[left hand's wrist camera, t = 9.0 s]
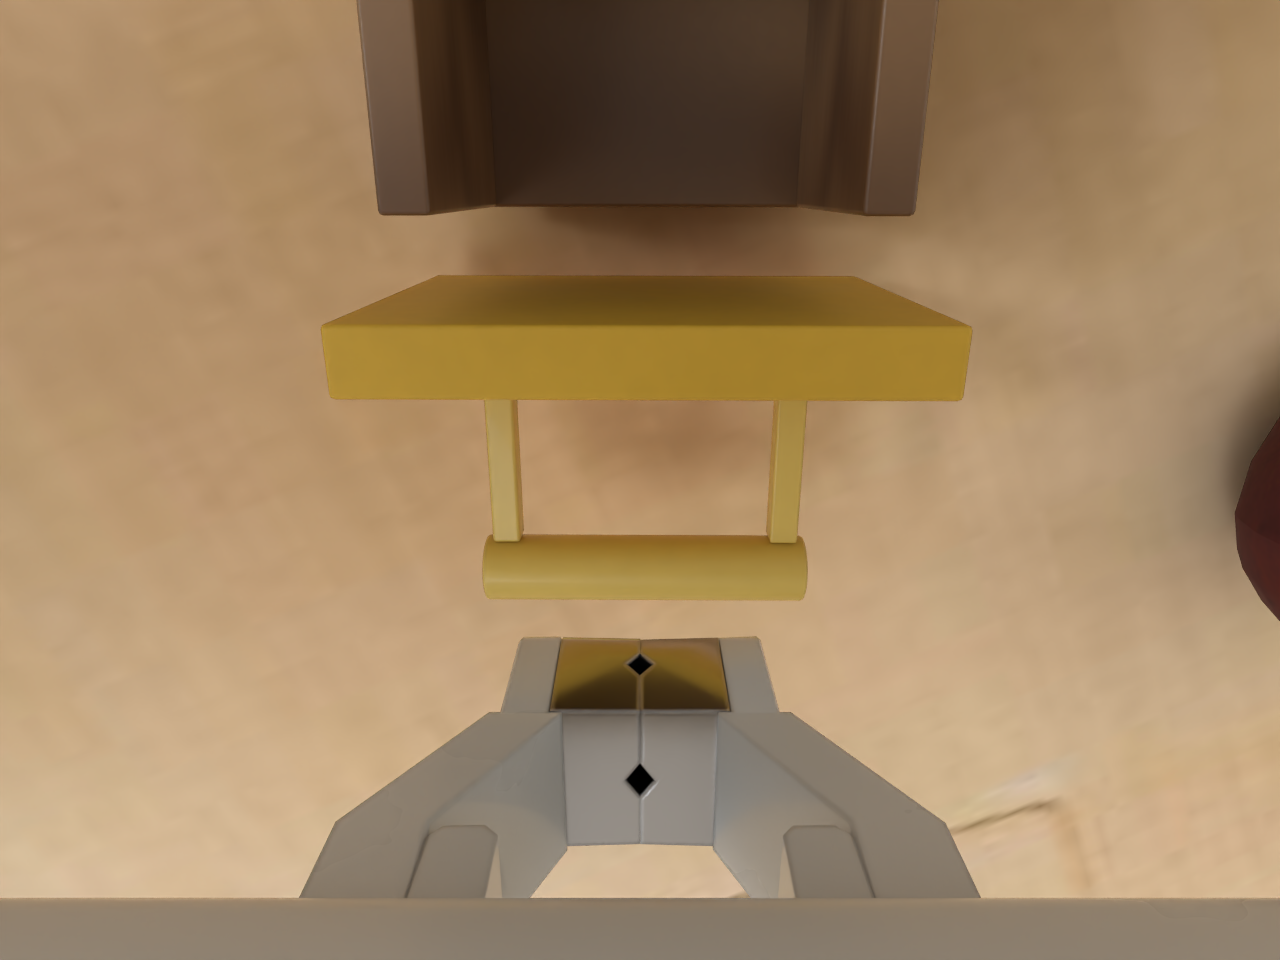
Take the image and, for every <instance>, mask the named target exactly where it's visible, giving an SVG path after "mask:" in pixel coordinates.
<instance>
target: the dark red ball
mask: <svg viewBox="0 0 1280 960" xmlns="http://www.w3.org/2000/svg"><path fill="white" fill-rule="evenodd" d="M1235 523H1236V538H1237V550H1238V553H1239V557H1240V560H1241V564H1242V567H1243V569H1244V571H1245V573H1246V575H1247V576H1248V578H1249V580H1250V581H1251V583H1252V585H1253V587H1254V588H1255V590H1256V592H1257V594H1258V595H1259V597H1260V599H1261V600H1262V601H1263V602H1264V604H1265V605H1266V606H1267V607H1268V608H1269V609H1270V610H1271V612H1272V613H1273V614H1274V615H1275V616H1276V617H1277V618H1278V620H1279V621H1280V417H1279V419H1278V420H1277V422H1276V424H1275V425H1274V427H1273V428H1272V430H1271V431H1270V433H1269V435H1268V436H1267V438H1266V439H1265V441H1264V442H1263V444H1262V445H1261V447H1260V449H1259V450H1258V452H1257V453H1256V455H1255V456H1254V458H1253V460H1252V461H1251V464H1250V467H1249V470H1248V473H1247V477H1246V480H1245V483H1244V486H1243V489H1242V492H1241V495H1240V499H1239V502H1238V505H1237V508H1236V511H1235Z"/></svg>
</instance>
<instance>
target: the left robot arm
mask: <svg viewBox="0 0 1280 960" xmlns="http://www.w3.org/2000/svg"><path fill="white" fill-rule="evenodd" d="M619 844H659V845H695V846H713V850H714V851H715V853H716V854H717V855H718V857H719V858H720V859H721V860H722V862H723V863H724V864H725V866H726V867H727V868H728V869H729V871H730V872H731V873H732V874H733V876H734V877H735V878H736V880H737V881H738V882H739V883H740V885H741V886H742V887H743V889H744V890H745V891H746V892H747V894H748V895H749V896H750V898H530V897H531V896H532V894H533V893H534V892H535V890H536V889H537V888H538V887H539V885H540V884H541V883H542V882H543V880H544V879H545V878H546V876H547V875H548V874H549V873H550V871H551V870H552V869H553V868H554V866H555V865H556V864H557V862H558V861H559V860H560V859H561V857H562V856H563V855H564V854H565V852H566V851H567V846H584V845H619ZM0 960H1280V898H981V897H980V895H979V893H978V891H977V889H976V886H975V884H974V882H973V880H972V878H971V876H970V874H969V872H968V870H967V867H966V865H965V863H964V861H963V859H962V857H961V855H960V853H959V851H958V849H957V846H956V844H955V842H954V840H953V838H952V836H951V834H950V832H949V830H948V828H947V825H946V823H945V822H943V821H942V820H940V819H939V818H938V817H936V816H935V815H933V814H932V813H931V812H929V811H928V810H926V809H925V808H924V807H922V806H921V805H919V804H918V803H917V802H915V801H914V800H913V799H911V798H910V797H908V796H907V795H906V794H904V793H903V792H901V791H900V790H899V789H897V788H896V787H894V786H893V785H892V784H890V783H889V782H887V781H886V780H885V779H883V778H882V777H880V776H879V775H878V774H876V773H875V772H873V771H872V770H871V769H869V768H868V767H866V766H865V765H864V764H862V763H861V762H860V761H858V760H857V759H855V758H854V757H853V756H851V755H850V754H848V753H847V752H846V751H844V750H843V749H841V748H840V747H839V746H837V745H836V744H834V743H833V742H832V741H830V740H829V739H827V738H826V737H825V736H823V735H822V734H820V733H819V732H818V731H816V730H815V729H813V728H812V727H811V726H809V725H808V724H807V723H805V722H804V721H802V720H801V719H800V718H798V717H797V716H795V715H794V714H793V713H791V712H779V708H778V705H777V701H776V697H775V693H774V690H773V686H772V682H771V679H770V675H769V671H768V667H767V664H766V660H765V656H764V653H763V649H762V645H761V641H760V639H758V638H757V637H732V638H692V639H652V640H640V639H619V638H567V637H563V639H561V638H560V637H524V638H523V639H522V640H521V641H520V642H519V644H518V648H517V652H516V656H515V659H514V663H513V667H512V671H511V674H510V678H509V682H508V686H507V689H506V693H505V697H504V701H503V704H502V708H501V712H489V713H487V714H486V715H485V716H483V717H482V718H480V719H479V720H478V721H476V722H475V723H473V724H472V725H471V726H469V727H468V728H466V729H465V730H464V731H462V732H461V733H459V734H458V735H457V736H455V737H454V738H452V739H451V740H450V741H448V742H447V743H445V744H444V745H443V746H441V747H440V748H438V749H437V750H436V751H434V752H433V753H431V754H430V755H429V756H427V757H426V758H424V759H423V760H422V761H420V762H419V763H417V764H416V765H415V766H413V767H412V768H410V769H409V770H408V771H406V772H405V773H403V774H402V775H401V776H399V777H398V778H396V779H395V780H394V781H392V782H391V783H389V784H388V785H387V786H385V787H384V788H382V789H381V790H380V791H378V792H377V793H375V794H374V795H373V796H371V797H370V798H368V799H367V800H366V801H364V802H363V803H361V804H360V805H359V806H357V807H356V808H354V809H353V810H352V811H350V812H349V813H347V814H346V815H345V816H343V817H342V818H340V819H339V820H338V821H336V822H335V824H334V826H333V828H332V830H331V833H330V835H329V837H328V839H327V841H326V843H325V845H324V847H323V849H322V851H321V853H320V855H319V857H318V860H317V862H316V864H315V866H314V868H313V870H312V872H311V874H310V876H309V878H308V880H307V882H306V884H305V886H304V889H303V891H302V893H301V895H300V897H299V898H0Z"/></svg>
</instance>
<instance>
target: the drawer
mask: <svg viewBox="0 0 1280 960" xmlns="http://www.w3.org/2000/svg"><path fill="white" fill-rule="evenodd" d="M356 1H357V11H358V20H359V30H360V40H361V49H362V59H363V69H364V78H365V88H366V98H367V107H368V117H369V127H370V136H371V146H372V156H373V165H374V175H375V185H376V194H377V204H378V211H379V213H380V214H381V215H434V214H441V213H449V212H457V211H464V210H472V209H480V208H487V207H802V208H810V209H817V210H825V211H832V212H840V213H848V214H855V215H863V216H911V215H913V214H914V212H915V208H916V199H917V190H918V181H919V172H920V163H921V154H922V145H923V136H924V128H925V119H926V110H927V101H928V92H929V83H930V74H931V65H932V56H933V47H934V38H935V29H936V20H937V11H938V2H939V0H356ZM321 334H322V342H323V349H324V357H325V364H326V372H327V379H328V387H329V394H330V397H331V398H334V399H428V400H484V404H485V420H486V435H487V450H488V465H489V480H490V495H491V510H492V526H493V534H492V535H489V536H488V538H487V540H486V543H485V547H484V553H483V586H484V591H485V594H486V597H487V598H489V599H556V600H777V601H800V600H802V599H803V598H804V595H805V592H806V587H807V575H808V566H807V553H806V547H805V543H804V541H803V538H802V537H800V536H797V533H798V520H799V506H800V493H801V479H802V465H803V452H804V438H805V425H806V411H807V401H959V400H962V398H963V394H964V387H965V380H966V373H967V366H968V359H969V352H970V345H971V337H972V328H971V326H968V325H966V324H964V323H961V322H959V321H957V320H954V319H952V318H950V317H947V316H945V315H943V314H940V313H938V312H936V311H933V310H931V309H929V308H926V307H924V306H922V305H919V304H917V303H915V302H912V301H910V300H908V299H905V298H903V297H901V296H898V295H896V294H894V293H892V292H889V291H887V290H885V289H882V288H880V287H878V286H875V285H873V284H871V283H868V282H866V281H864V280H861V279H859V278H857V277H854V276H451V275H438V276H436V277H434V278H431V279H429V280H427V281H424V282H422V283H420V284H417V285H415V286H413V287H410V288H408V289H406V290H403V291H401V292H399V293H396V294H394V295H392V296H389V297H387V298H384V299H382V300H380V301H377V302H375V303H373V304H370V305H368V306H366V307H363V308H361V309H359V310H356V311H354V312H352V313H349V314H347V315H345V316H342V317H340V318H338V319H335V320H333V321H331V322H328V323H326V324H324V325H322V327H321ZM517 400H757V401H774V409H773V426H772V443H771V460H770V476H769V493H768V510H767V527H766V532H767V535H768V536H760V535H522V534H523V531H524V524H523V505H522V485H521V466H520V447H519V428H518V408H517Z"/></svg>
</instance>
